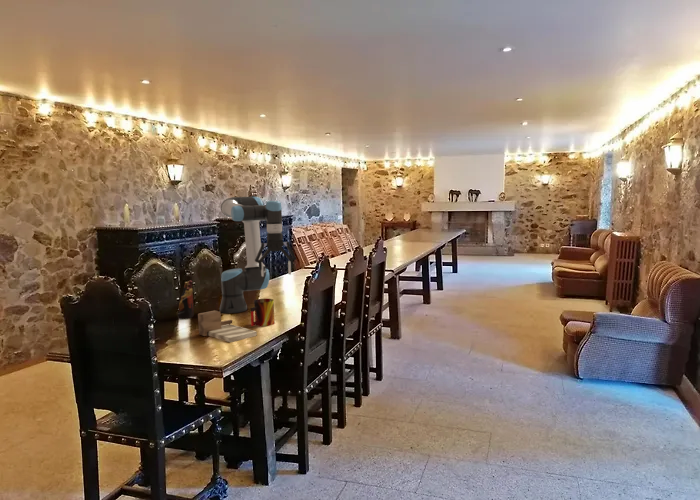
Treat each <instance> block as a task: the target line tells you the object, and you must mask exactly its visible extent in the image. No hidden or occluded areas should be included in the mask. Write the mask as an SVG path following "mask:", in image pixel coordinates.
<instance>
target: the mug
mask: <svg viewBox="0 0 700 500" xmlns="http://www.w3.org/2000/svg"><path fill="white" fill-rule="evenodd" d="M253 305H254V307H250V325H251V326H250V327H255V326H257V327H270V326H273V325H275V300H274V299H273V298H269V297H268V298H258V299H254V300H253Z"/></svg>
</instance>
